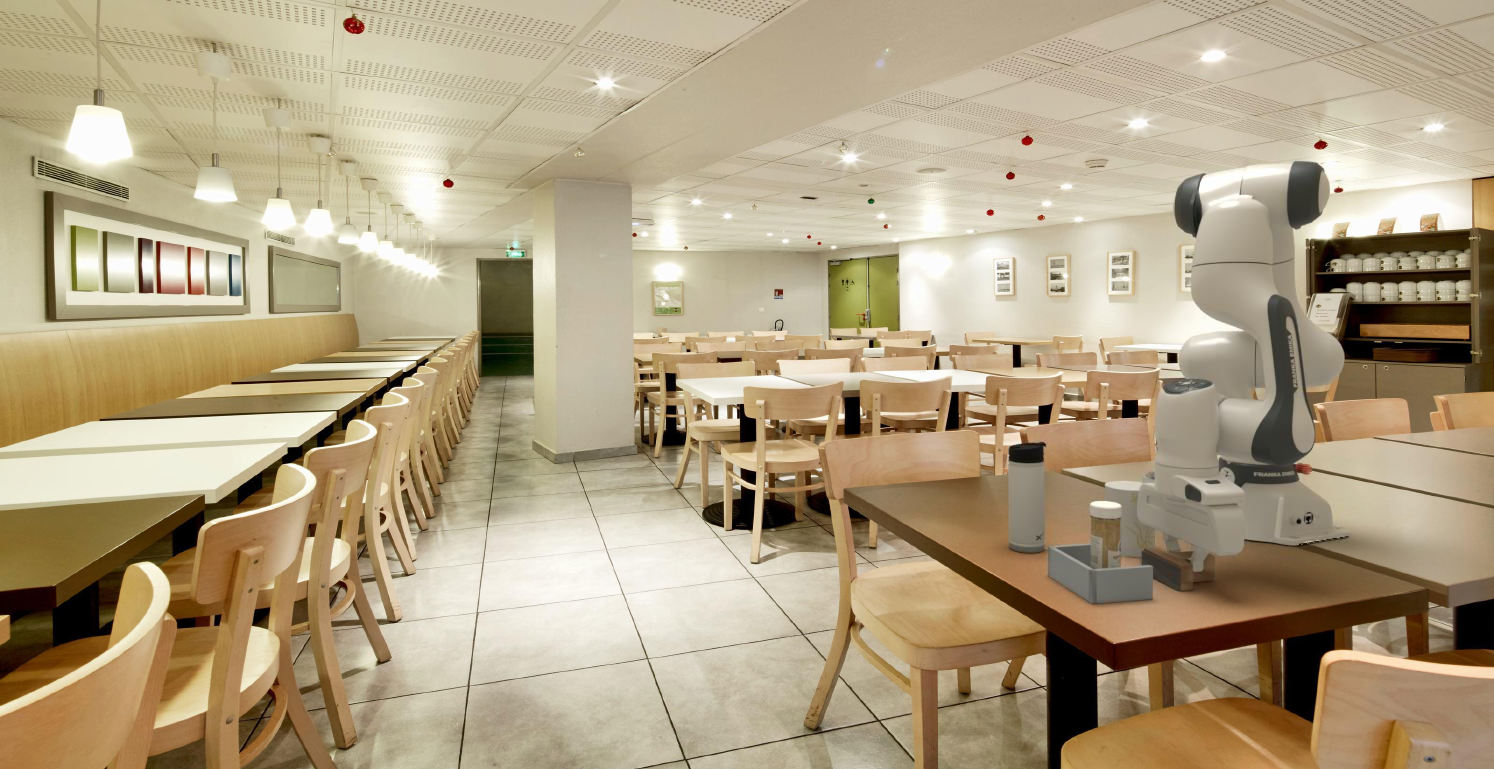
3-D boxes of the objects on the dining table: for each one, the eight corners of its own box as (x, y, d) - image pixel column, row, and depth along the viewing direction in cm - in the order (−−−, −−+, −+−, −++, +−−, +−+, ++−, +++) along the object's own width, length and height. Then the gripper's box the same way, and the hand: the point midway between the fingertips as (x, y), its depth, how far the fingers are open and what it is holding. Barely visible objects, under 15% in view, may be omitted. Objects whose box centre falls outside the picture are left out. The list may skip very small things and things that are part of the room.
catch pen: (1103, 571, 124) (1103, 542, 124) (1152, 598, 112) (1153, 566, 111) (1047, 575, 123) (1047, 546, 123) (1091, 603, 111) (1091, 571, 110)
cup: (1135, 559, 129) (1136, 492, 129) (1095, 548, 137) (1095, 484, 136) (1164, 551, 133) (1165, 486, 132) (1123, 541, 140) (1123, 478, 139)
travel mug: (1049, 553, 134) (1049, 445, 133) (1011, 552, 136) (1010, 445, 134) (1043, 543, 140) (1042, 439, 139) (1006, 542, 142) (1005, 439, 140)
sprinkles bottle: (1124, 592, 115) (1124, 507, 113) (1092, 590, 116) (1092, 506, 115) (1118, 582, 119) (1118, 500, 118) (1087, 580, 120) (1087, 499, 119)
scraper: (1188, 568, 124) (1188, 544, 124) (1228, 586, 115) (1229, 561, 115) (1141, 571, 123) (1141, 548, 123) (1178, 590, 114) (1178, 565, 114)
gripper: (1127, 470, 128) (1126, 547, 129) (1214, 497, 107) (1212, 589, 109) (1161, 467, 128) (1160, 545, 130) (1253, 494, 108) (1252, 585, 109)
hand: (1185, 565), depth 119 cm, fingers closed on scraper, 3 cm apart
